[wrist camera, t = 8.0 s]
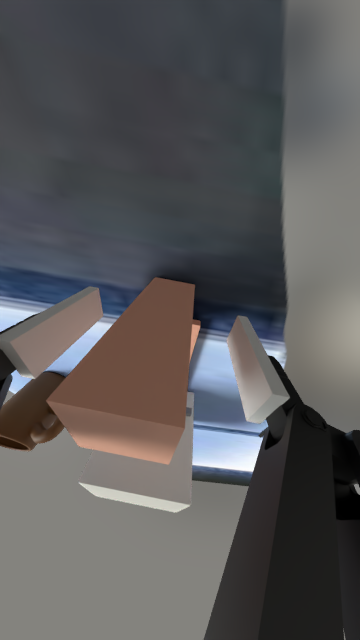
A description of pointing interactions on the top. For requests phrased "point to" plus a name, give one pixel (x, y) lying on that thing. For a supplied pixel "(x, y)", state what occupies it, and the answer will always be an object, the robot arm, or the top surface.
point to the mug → (30, 414)
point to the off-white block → (145, 474)
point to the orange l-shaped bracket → (135, 378)
